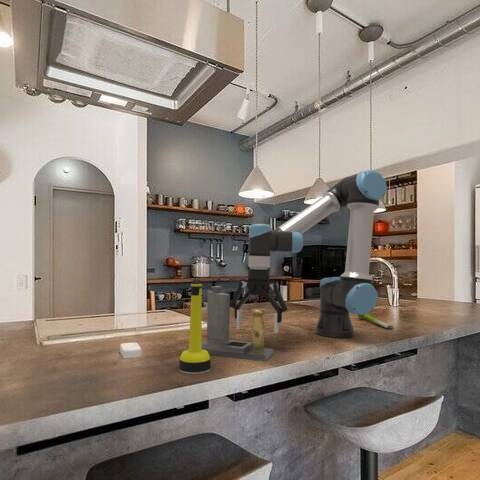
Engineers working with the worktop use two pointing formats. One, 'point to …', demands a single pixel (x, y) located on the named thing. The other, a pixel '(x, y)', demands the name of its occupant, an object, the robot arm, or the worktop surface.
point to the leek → (375, 320)
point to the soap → (130, 350)
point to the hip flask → (218, 314)
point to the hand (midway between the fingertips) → (257, 330)
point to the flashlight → (195, 337)
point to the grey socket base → (236, 349)
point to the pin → (258, 327)
